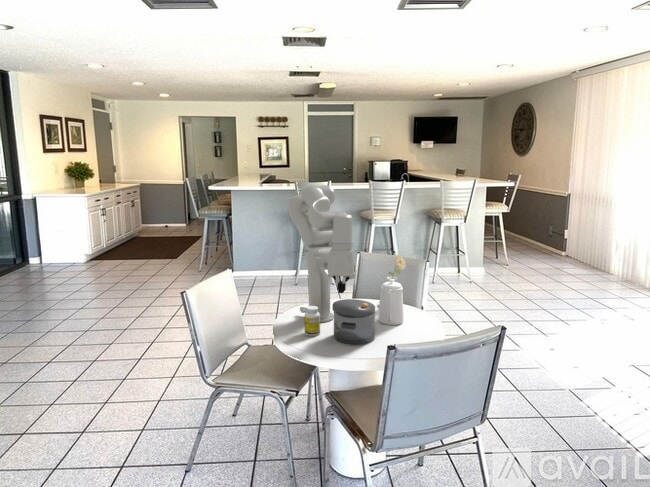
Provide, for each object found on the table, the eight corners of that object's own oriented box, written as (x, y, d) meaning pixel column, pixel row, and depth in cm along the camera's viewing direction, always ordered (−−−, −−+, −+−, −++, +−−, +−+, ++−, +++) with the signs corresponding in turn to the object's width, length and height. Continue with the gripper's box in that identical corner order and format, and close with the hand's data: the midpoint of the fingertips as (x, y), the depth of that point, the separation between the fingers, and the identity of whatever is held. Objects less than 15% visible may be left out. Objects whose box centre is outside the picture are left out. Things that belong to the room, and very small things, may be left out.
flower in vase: (388, 311, 218) (389, 258, 214) (374, 304, 228) (375, 253, 224) (410, 306, 225) (412, 255, 220) (396, 300, 234) (397, 251, 230)
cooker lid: (327, 313, 179) (327, 306, 179) (338, 300, 195) (339, 294, 194) (370, 319, 174) (370, 311, 174) (378, 306, 190) (379, 299, 190)
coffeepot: (375, 331, 193) (376, 286, 190) (380, 312, 217) (381, 272, 214) (402, 333, 191) (403, 288, 188) (404, 313, 215) (405, 273, 212)
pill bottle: (304, 331, 193) (304, 305, 191) (319, 330, 194) (319, 304, 192) (304, 336, 187) (304, 310, 185) (320, 336, 188) (320, 309, 186)
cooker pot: (326, 345, 179) (326, 317, 177) (341, 326, 199) (341, 301, 197) (368, 349, 174) (369, 321, 172) (379, 330, 194) (379, 304, 192)
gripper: (320, 247, 180) (320, 293, 184) (358, 249, 176) (357, 296, 180) (326, 243, 187) (325, 287, 191) (363, 245, 183) (362, 291, 187)
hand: (341, 292), depth 185 cm, fingers closed
